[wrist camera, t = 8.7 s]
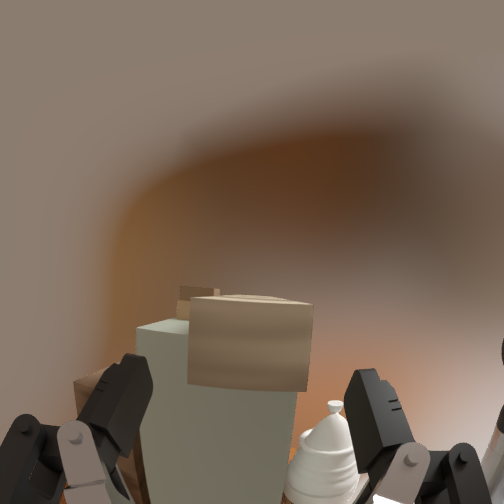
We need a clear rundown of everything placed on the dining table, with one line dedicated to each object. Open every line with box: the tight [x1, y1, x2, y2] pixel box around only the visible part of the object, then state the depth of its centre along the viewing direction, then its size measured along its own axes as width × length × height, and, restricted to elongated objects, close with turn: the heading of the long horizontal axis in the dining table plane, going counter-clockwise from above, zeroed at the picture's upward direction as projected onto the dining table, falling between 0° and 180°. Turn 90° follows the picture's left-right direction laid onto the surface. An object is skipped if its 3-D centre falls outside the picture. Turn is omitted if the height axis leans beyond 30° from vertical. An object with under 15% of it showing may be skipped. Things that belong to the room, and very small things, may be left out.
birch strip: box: [187, 295, 314, 392], centre depth 21 cm, size 26×4×3 cm, turn 179°
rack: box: [136, 286, 297, 504], centre depth 24 cm, size 12×16×36 cm
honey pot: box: [283, 400, 360, 504], centre depth 34 cm, size 13×13×18 cm
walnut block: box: [74, 361, 151, 504], centre depth 30 cm, size 8×14×22 cm, turn 179°
